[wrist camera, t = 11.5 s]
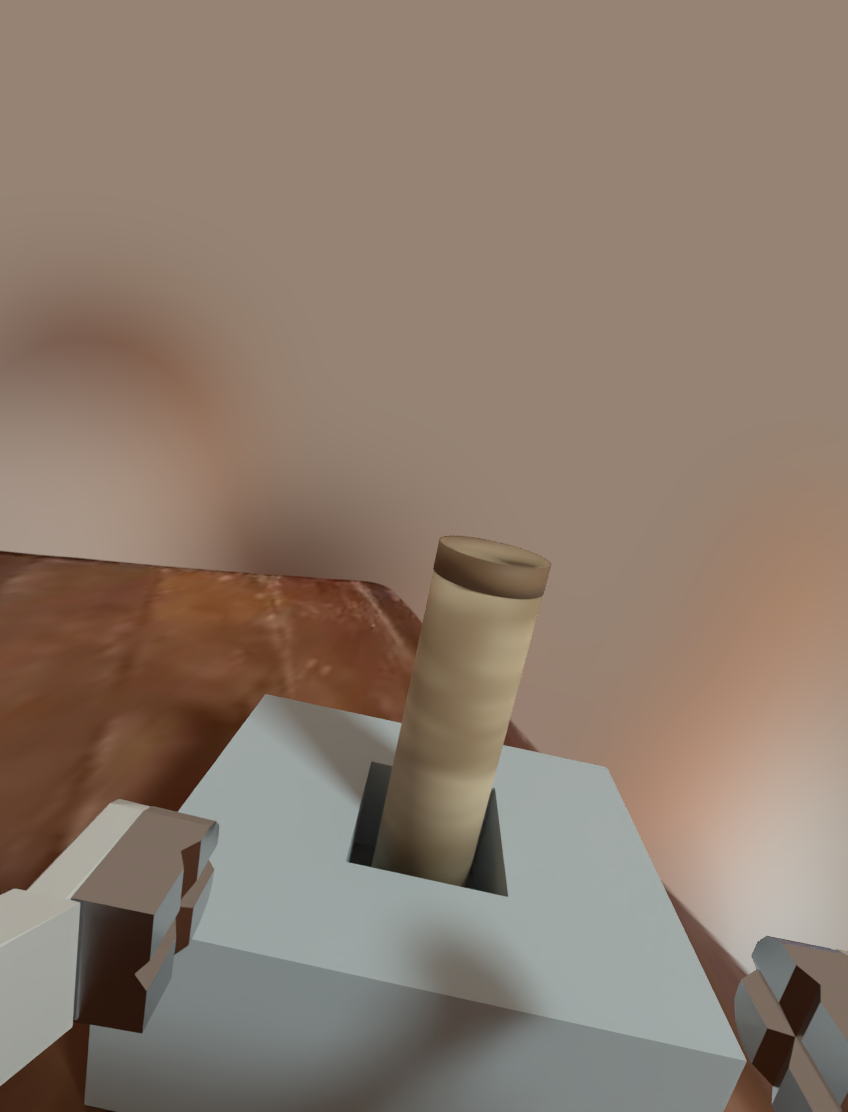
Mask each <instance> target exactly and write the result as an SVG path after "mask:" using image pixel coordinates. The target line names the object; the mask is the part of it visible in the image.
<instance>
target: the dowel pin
mask: <svg viewBox="0 0 848 1112" xmlns="http://www.w3.org/2000/svg"><path fill="white" fill-rule="evenodd" d="M550 568H551V563H550V562H549V561H548V560H547V559H545V558H543V557H542V556H539V555H537V554H535V553H532V552H530V551H527V550H524V549H521V548H518V547H515V546H511V545H508V544H503V543H499V542H495V541H490V540H486V539H480V538H473V537H465V536H444V537H441V538H440V540H439V544H438V549H437V554H436V559H435V564H434V572H433V576H432V581H431V586H430V591H429V595H428V600H427V605H426V610H425V614H424V619H423V624H422V629H421V633H420V638H419V643H418V648H417V652H416V657H415V662H414V667H413V671H412V676H411V681H410V686H409V690H408V695H407V700H406V705H405V709H404V714H403V719H402V724H401V728H400V733H399V738H398V743H397V747H396V752H395V757H394V762H393V766H392V771H391V776H390V781H389V785H388V790H387V795H386V800H385V804H384V809H383V814H382V819H381V823H380V828H379V833H378V838H377V842H376V847H375V852H374V857H373V861H372V866H371V867H372V868H377V869H381V870H386V871H391V872H395V873H400V874H404V875H409V876H413V877H418V878H423V879H427V880H432V881H436V882H441V883H446V884H450V885H455V886H459V887H464V888H466V884H467V880H468V876H469V873H470V869H471V865H472V861H473V857H474V854H475V850H476V846H477V842H478V838H479V835H480V831H481V827H482V823H483V819H484V816H485V812H486V808H487V804H488V800H489V797H490V793H491V789H492V785H493V781H494V777H495V774H496V770H497V766H498V762H499V758H500V755H501V751H502V747H503V743H504V739H505V736H506V732H507V728H508V724H509V720H510V717H511V713H512V709H513V705H514V701H515V697H516V694H517V690H518V686H519V682H520V678H521V675H522V671H523V667H524V663H525V660H526V656H527V651H528V648H529V644H530V640H531V637H532V633H533V629H534V625H535V621H536V618H537V614H538V610H539V606H540V602H541V599H542V595H543V594H544V590H545V586H546V583H547V579H548V575H549V571H550Z"/></svg>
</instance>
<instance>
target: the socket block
mask: <svg viewBox="0 0 848 1112" xmlns="http://www.w3.org/2000/svg"><path fill="white" fill-rule="evenodd" d="M401 724H402V723H398V722H393V721H388V720H384V719H379V718H374V717H370V716H365V715H360V714H356V713H351V712H347V711H342V710H337V709H333V708H328V707H323V706H319V705H314V704H309V703H305V702H300V701H295V700H291V699H286V698H281V697H277V696H272V695H267V694H265V696H264V697H263V698H262V700H261V701H260V702H259V704H258V705H257V706H256V708H255V709H254V710H253V712H252V713H251V714H250V716H249V717H248V718H247V720H246V721H245V722H244V724H243V725H242V726H241V728H240V729H239V730H238V732H237V733H236V734H235V736H234V737H233V738H232V740H231V741H230V742H229V744H228V745H227V746H226V748H225V749H224V750H223V752H222V753H221V755H220V756H219V757H218V759H217V760H216V761H215V763H214V764H213V765H212V767H211V768H210V769H209V771H208V772H207V773H206V775H205V776H204V777H203V779H202V780H201V781H200V783H199V784H198V785H197V787H196V788H195V789H194V791H193V792H192V793H191V795H190V796H189V797H188V799H187V800H186V801H185V803H184V804H183V805H182V807H181V808H180V809H179V811H178V812H180V813H184V814H188V815H193V816H197V817H201V818H205V819H209V820H214V821H217V823H218V824H219V836H218V844H217V846H216V848H215V850H214V851H213V853H212V855H211V857H210V858H209V861H210V863H211V864H212V866H213V868H214V876H213V883H212V887H211V891H210V895H209V899H208V902H207V905H206V908H205V910H204V913H203V915H202V918H201V921H200V923H199V926H198V928H197V930H196V932H195V934H194V936H193V938H192V940H191V942H190V944H189V945H188V946H187V947H185V948H184V949H182V950H181V951H180V952H178V953H177V954H175V955H174V962H173V970H172V978H171V980H170V982H169V984H168V986H167V988H166V989H165V991H164V993H163V995H162V997H161V999H160V1001H159V1003H158V1005H157V1007H156V1008H155V1010H154V1012H153V1014H152V1016H151V1018H150V1020H149V1022H148V1024H147V1026H146V1027H145V1029H144V1031H143V1033H142V1034H141V1033H136V1032H130V1031H124V1030H118V1029H113V1028H107V1027H101V1026H95V1025H90V1033H89V1046H88V1060H87V1073H86V1087H85V1100H84V1105H88V1106H93V1107H97V1108H102V1109H106V1110H111V1111H115V1112H723V1111H724V1109H725V1107H726V1105H727V1103H728V1101H729V1098H730V1096H731V1094H732V1092H733V1090H734V1088H735V1085H736V1083H737V1081H738V1079H739V1077H740V1074H741V1072H742V1070H743V1068H744V1066H745V1064H746V1059H745V1057H744V1054H743V1052H742V1050H741V1048H740V1046H739V1044H738V1042H737V1040H736V1038H735V1036H734V1033H733V1031H732V1029H731V1027H730V1025H729V1023H728V1021H727V1019H726V1017H725V1015H724V1012H723V1010H722V1008H721V1006H720V1004H719V1002H718V1000H717V998H716V996H715V993H714V991H713V989H712V987H711V985H710V983H709V981H708V979H707V977H706V975H705V972H704V970H703V968H702V966H701V964H700V962H699V960H698V958H697V956H696V954H695V951H694V949H693V947H692V945H691V943H690V941H689V939H688V937H687V935H686V933H685V930H684V928H683V926H682V924H681V922H680V920H679V918H678V916H677V914H676V912H675V909H674V907H673V905H672V903H671V901H670V899H669V897H668V895H667V893H666V891H665V888H664V886H663V884H662V882H661V880H660V878H659V876H658V874H657V872H656V870H655V868H654V865H653V863H652V861H651V859H650V857H649V855H648V853H647V851H646V849H645V847H644V844H643V842H642V840H641V838H640V836H639V834H638V832H637V830H636V828H635V826H634V823H633V821H632V819H631V817H630V815H629V813H628V811H627V809H626V806H625V805H624V802H623V800H622V798H621V796H620V794H619V792H618V790H617V788H616V785H615V783H614V782H613V779H612V777H611V775H610V773H609V771H608V769H607V767H602V766H598V765H593V764H588V763H583V762H579V761H575V760H569V759H565V758H561V757H556V756H551V755H547V754H542V753H537V752H533V751H528V750H523V749H519V748H514V747H509V746H505V745H503V747H502V751H501V755H500V758H499V762H498V766H497V770H496V774H495V777H494V781H493V785H492V789H491V793H490V797H489V800H488V804H487V808H486V812H485V816H484V819H483V823H482V827H481V831H480V835H479V838H478V842H477V846H476V850H475V854H474V857H473V861H472V865H471V869H470V873H469V876H468V880H467V884H466V888H464V887H459V886H455V885H450V884H446V883H441V882H436V881H432V880H427V879H423V878H418V877H413V876H409V875H404V874H400V873H395V872H391V871H386V870H381V869H377V868H372V867H371V866H372V861H373V857H374V852H375V847H376V842H377V838H378V833H379V828H380V823H381V819H382V814H383V809H384V804H385V800H386V795H387V790H388V785H389V781H390V776H391V771H392V766H393V762H394V757H395V752H396V747H397V743H398V738H399V733H400V728H401Z"/></svg>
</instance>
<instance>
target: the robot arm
mask: <svg viewBox="0 0 848 1112" xmlns="http://www.w3.org/2000/svg"><path fill="white" fill-rule="evenodd" d="M218 836H219V824H218V823H217V821H214V820H209V819H205V818H201V817H197V816H193V815H188V814H184V813H180V812H176V811H171V810H167V809H163V808H159V807H155V806H152V807H150V806H146V805H142V804H138V803H134V802H130V801H126V800H122V799H118V800H116V801H114V802H112V803H110V804H108V805H107V806H106V807H105V808H104V809H103V810H102V811H101V812H100V813H99V814H98V815H97V817H96V818H95V819H94V820H93V821H92V822H91V823H90V824H89V825H88V826H87V827H86V828H85V829H84V830H83V831H82V832H81V833H80V834H79V835H78V836H77V837H76V839H75V840H74V841H73V842H72V843H71V844H70V845H69V846H68V847H67V848H66V849H65V850H64V851H63V852H62V853H61V854H60V855H59V856H58V857H57V858H56V859H55V860H54V862H53V863H52V864H51V865H50V866H49V867H48V868H47V869H46V870H45V871H44V872H43V873H42V874H41V875H40V876H39V877H38V878H37V879H36V880H35V881H34V882H33V884H32V885H31V886H30V887H29V888H28V889H27V890H21V889H15V888H14V889H12V890H10V891H8V892H6V893H3V894H1V895H0V1086H1V1085H2V1084H3V1083H5V1082H6V1081H7V1080H8V1079H10V1078H11V1077H12V1076H13V1075H14V1074H16V1073H17V1072H18V1071H19V1070H21V1069H22V1068H23V1067H24V1066H25V1065H27V1064H28V1063H29V1062H30V1061H32V1060H33V1059H34V1058H35V1057H36V1056H38V1055H39V1054H40V1053H41V1052H43V1051H44V1050H45V1049H46V1048H47V1047H49V1046H50V1045H51V1044H52V1043H54V1042H55V1041H56V1040H57V1039H58V1038H60V1037H61V1036H62V1035H63V1034H65V1033H66V1032H67V1031H68V1030H69V1029H71V1028H72V1026H73V1022H78V1023H84V1024H90V1025H95V1026H101V1027H107V1028H113V1029H118V1030H124V1031H130V1032H136V1033H141V1034H142V1033H143V1031H144V1029H145V1027H146V1026H147V1024H148V1022H149V1020H150V1018H151V1016H152V1014H153V1012H154V1010H155V1008H156V1007H157V1005H158V1003H159V1001H160V999H161V997H162V995H163V993H164V991H165V989H166V988H167V986H168V984H169V982H170V980H171V978H172V970H173V962H174V955H175V954H177V953H178V952H180V951H181V950H182V949H184V948H185V947H187V946H188V945H189V944H190V942H191V940H192V938H193V936H194V934H195V932H196V930H197V928H198V926H199V923H200V921H201V918H202V915H203V913H204V910H205V908H206V905H207V902H208V899H209V895H210V891H211V887H212V883H213V876H214V868H213V866H212V864H211V863H210V861H209V858H210V857H211V855H212V853H213V851H214V850H215V848H216V846H217V844H218ZM752 958H753V961H754V963H755V966H756V969H757V970H755V971H754V972H752V973H751V974H749V975H748V976H746V977H745V978H743V979H742V980H741V982H740V984H739V987H738V990H737V993H736V996H735V998H734V1000H735V1020H736V1025H737V1028H738V1032H739V1035H740V1039H741V1042H742V1044H743V1046H744V1048H745V1051H746V1053H747V1055H748V1057H749V1059H750V1061H751V1063H752V1064H753V1066H754V1067H755V1068H756V1069H757V1070H758V1071H759V1072H760V1073H761V1074H762V1075H763V1076H764V1077H765V1078H766V1079H767V1080H768V1082H769V1083H770V1084H771V1085H772V1086H773V1092H772V1106H773V1108H774V1110H775V1112H848V951H842V950H833V949H830V948H825V947H820V946H815V945H810V944H805V943H800V942H795V941H790V940H785V939H780V938H775V937H770V936H766V937H764V938H763V939H761V940H760V941H758V942H757V944H756V947H755V949H754V951H753V953H752Z"/></svg>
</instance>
